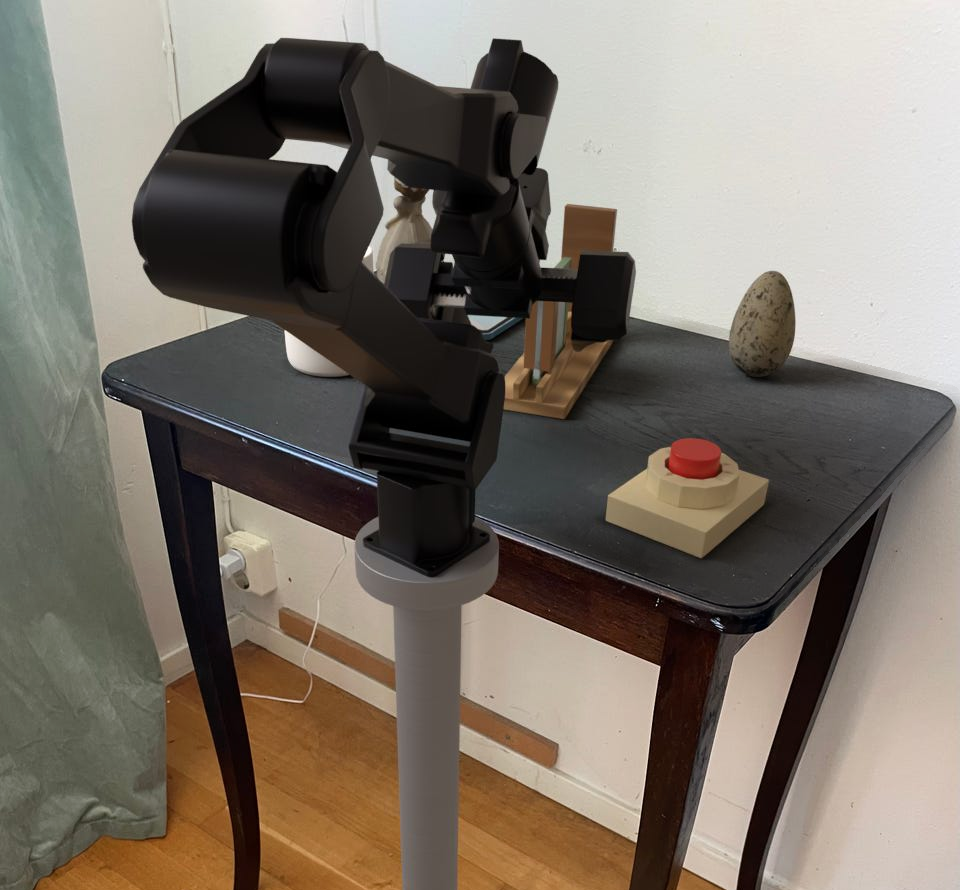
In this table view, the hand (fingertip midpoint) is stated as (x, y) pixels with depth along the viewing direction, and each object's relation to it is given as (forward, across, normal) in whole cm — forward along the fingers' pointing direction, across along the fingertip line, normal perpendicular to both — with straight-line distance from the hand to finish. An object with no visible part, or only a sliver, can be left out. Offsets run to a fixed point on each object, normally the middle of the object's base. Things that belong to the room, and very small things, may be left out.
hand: (524, 342), depth 85 cm
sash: (+10, 0, -3) cm, 11 cm away
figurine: (+24, +20, -17) cm, 35 cm away
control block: (-2, -15, +14) cm, 21 cm away
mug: (+11, +20, -3) cm, 23 cm away
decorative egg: (+18, -19, -7) cm, 27 cm away
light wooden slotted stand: (+14, 0, -5) cm, 15 cm away
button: (-5, -15, +12) cm, 20 cm away
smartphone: (+22, +9, -14) cm, 28 cm away
